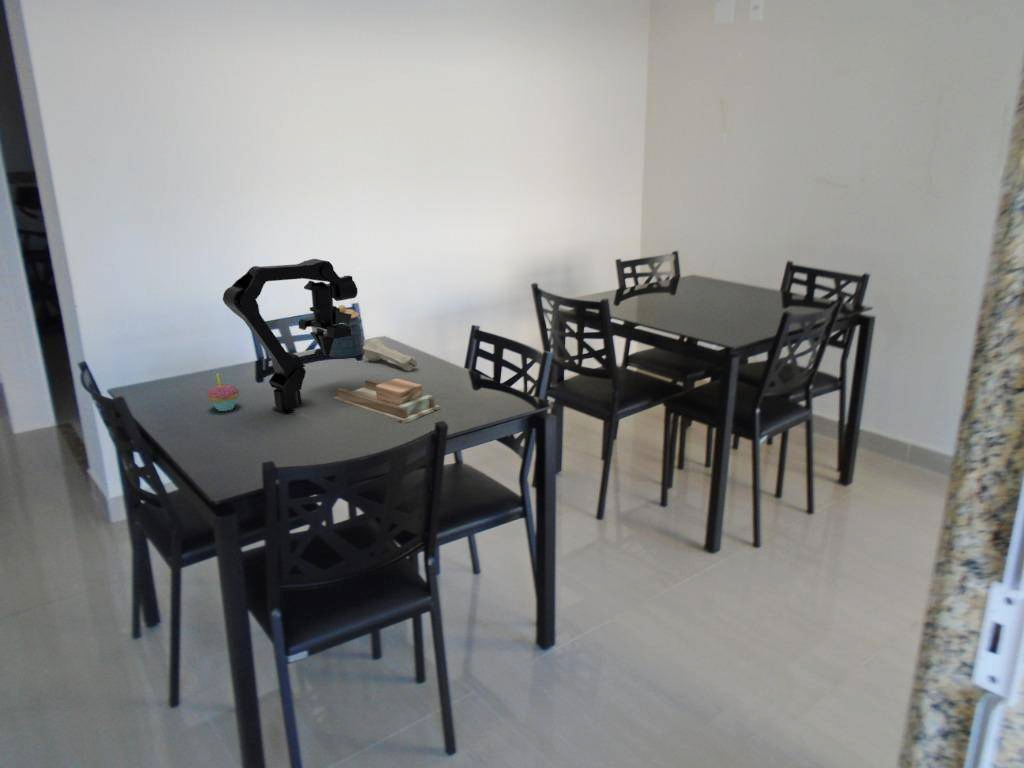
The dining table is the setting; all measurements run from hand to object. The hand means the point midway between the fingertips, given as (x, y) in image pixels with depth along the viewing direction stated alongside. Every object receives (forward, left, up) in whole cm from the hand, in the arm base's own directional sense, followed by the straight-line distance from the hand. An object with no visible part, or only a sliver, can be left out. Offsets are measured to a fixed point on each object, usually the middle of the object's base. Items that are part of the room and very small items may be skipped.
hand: (327, 355), depth 218 cm
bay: (+5, -19, -13) cm, 23 cm away
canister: (+32, +32, -13) cm, 47 cm away
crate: (+5, -25, -12) cm, 28 cm away
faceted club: (+32, +9, -13) cm, 35 cm away
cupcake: (-25, +16, -13) cm, 33 cm away
